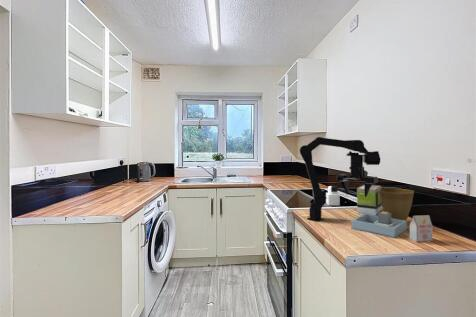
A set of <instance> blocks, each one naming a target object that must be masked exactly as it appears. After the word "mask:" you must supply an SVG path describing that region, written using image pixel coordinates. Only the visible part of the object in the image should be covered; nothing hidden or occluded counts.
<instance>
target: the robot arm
mask: <svg viewBox="0 0 476 317" xmlns="http://www.w3.org/2000/svg"><path fill="white" fill-rule="evenodd" d="M320 145H322V146H328V147H329V146H330V147H336V148H343V149H346V150H349V152H348V153H346V154H345V155H346V156H347V157H350V166H349V170H350V172H349V173H350V174H345V173H344V174H343V173H342V174H338V175H336V181H338V182H339V183H341V186H342V187H343V189H344V192H345V195H349V193H350V191H349V190H350V188H349V183H350V181H360V182H365V183H364V184H363V185H364V188H365V197H367V194H368V192H369V189H370V187H371V186H372V185H375V184H377V183H379V178H378V176H372V175H371V176H368V175H369V173H368V171H367V170H365V166H364V164H365V165H367V166H379V165H380V163H381V156H380V153H379V151H378V150H377V151H375V150H374V151H369V150H368V149H367V148H366V147H365V143H364V141H363V140H361V139H349V140H348V139H345V140H344V139H335V138H327V137H321V136H318V137H316V138H315V139H313V140H312V141H310V142H309V143H308V144H305V145H302V146H300V147H299V154H300V156H301V158H302V160H303V162H304V165H305V168H306V171H307V174H308V177H309V181H310V184H311V189H312V199H311V200H310V201H309V203H308V204H309V217H306V219H307V220H310V221H313V222H320V221H323V220H325V218H324V217H322V211H323V210H322V208H323V206H325V204H327V203H326V199H327V198H326V190H324V188H322V189H321V187H320V183H319V180H318V176H317V174H316V169H315V167H314V166H315V165H314V163H313V154H312V153H313V152H312V151H314V150H315V149H317V147H319V146H320ZM352 151H353V152H352ZM359 153H360V154H359Z"/></svg>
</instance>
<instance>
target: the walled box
mask: <svg viewBox="0 0 476 317" xmlns="http://www.w3.org/2000/svg"><path fill="white" fill-rule="evenodd" d="M376 221H378V215H369V214H362V215H360V216H358V217H354V218H353V219H351V230H356V231H360V232H364V233H370V234H374V235H378V236H383V237H388V238H392V239H395V238H397V237H398V236H400V235H402V234H403V233H404V232H406V231H407V229H408V225H407V224H408V220H406V221H404V220H398V219H393V218H391V222H396V226H394V227H388V226H382V225H377V224H374V222H376Z"/></svg>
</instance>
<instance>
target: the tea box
mask: <svg viewBox="0 0 476 317" xmlns="http://www.w3.org/2000/svg"><path fill="white" fill-rule="evenodd" d="M380 189H382V185H375V184H373V185H372V186H371V187H370V189H369V192H368V194H367V197H365V188H364V184H363V185H360V186H358V187H357V188H356V203H357V204H356V209H357V214H362V215H365V214H369V215H375V216H378V213H380V212H382V211H383V207H382V204H381V200H380V194H379V190H380Z"/></svg>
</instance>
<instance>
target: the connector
mask: <svg viewBox="0 0 476 317" xmlns="http://www.w3.org/2000/svg"><path fill="white" fill-rule="evenodd" d="M377 216H378V223H381V224H387V225H390V224H391V213H389V212H384V211H383V210H382V211H380V212H379V213H378V214H377Z"/></svg>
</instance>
